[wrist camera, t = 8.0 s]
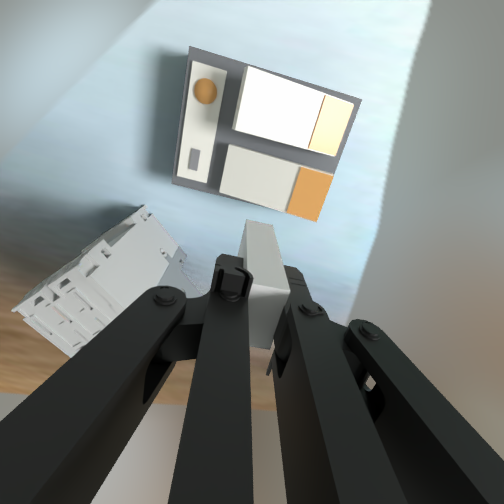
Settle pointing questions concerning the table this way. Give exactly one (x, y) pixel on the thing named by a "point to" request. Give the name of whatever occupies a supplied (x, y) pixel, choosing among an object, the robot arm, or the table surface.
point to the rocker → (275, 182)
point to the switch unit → (230, 124)
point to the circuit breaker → (105, 282)
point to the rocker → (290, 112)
